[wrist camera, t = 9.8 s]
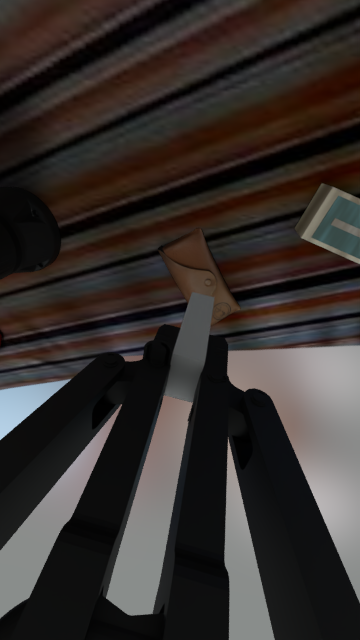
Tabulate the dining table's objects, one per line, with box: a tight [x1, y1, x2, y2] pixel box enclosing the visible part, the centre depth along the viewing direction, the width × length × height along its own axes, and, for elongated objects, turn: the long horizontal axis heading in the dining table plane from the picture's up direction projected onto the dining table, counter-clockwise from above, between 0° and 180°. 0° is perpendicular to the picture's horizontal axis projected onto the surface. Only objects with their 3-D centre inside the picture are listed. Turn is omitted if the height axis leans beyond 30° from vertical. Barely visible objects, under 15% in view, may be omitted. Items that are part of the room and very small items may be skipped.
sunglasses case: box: [158, 228, 241, 327], centre depth 50 cm, size 18×7×7 cm
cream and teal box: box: [295, 183, 360, 264], centre depth 40 cm, size 6×7×14 cm
